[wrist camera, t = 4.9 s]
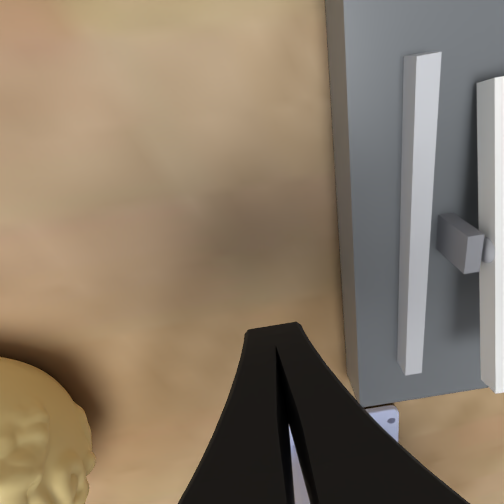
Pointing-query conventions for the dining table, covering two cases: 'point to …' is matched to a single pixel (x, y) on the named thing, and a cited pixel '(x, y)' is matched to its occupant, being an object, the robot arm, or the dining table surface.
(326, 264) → the dining table surface
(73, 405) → the sculpture
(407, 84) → the switch panel
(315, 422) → the robot arm
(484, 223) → the rocker paddle
